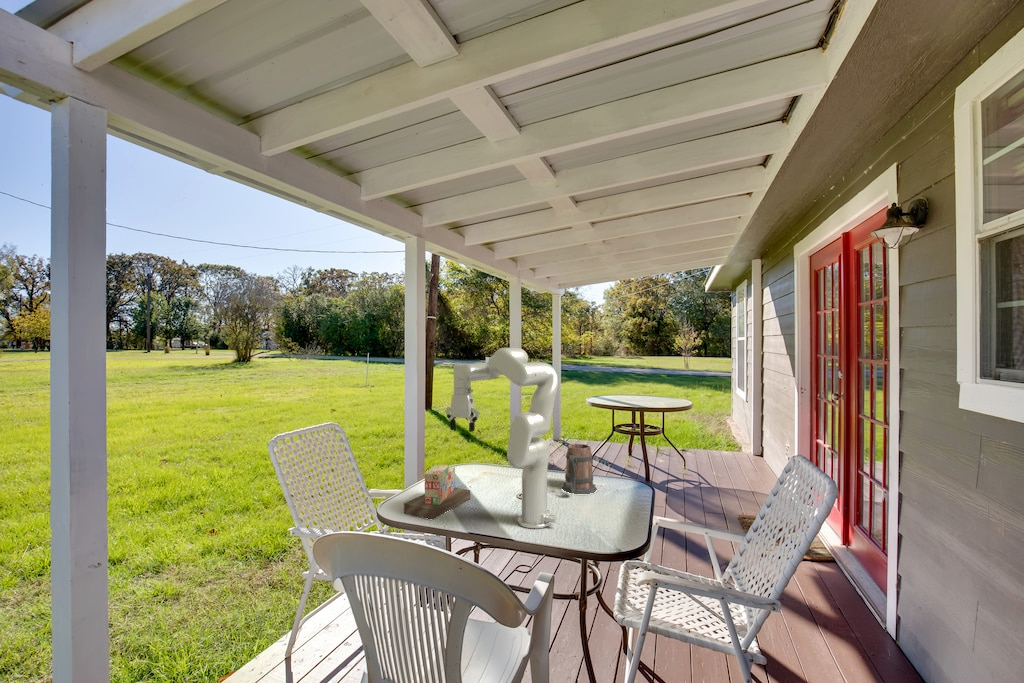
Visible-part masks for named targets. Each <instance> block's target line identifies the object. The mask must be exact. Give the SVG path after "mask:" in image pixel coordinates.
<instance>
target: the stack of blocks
mask: <svg viewBox="0 0 1024 683" xmlns="http://www.w3.org/2000/svg"><path fill="white" fill-rule="evenodd" d="M455 488H456V467H455V466H449V465H446V464H445V465H441V464H435V465H433V466H432V467H431V468H430V469H429V470H427V471H426V472H425V473H424V494H425V504H430V505H440V504H441V503H442V502H443V501H444V500H445V499H446V498H447V496H448V495H449V494H450V493H451V492H452V491H453V490H454V489H455Z"/></svg>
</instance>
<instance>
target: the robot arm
mask: <svg viewBox="0 0 1024 683" xmlns="http://www.w3.org/2000/svg"><path fill="white" fill-rule="evenodd" d="M501 375H503V376H504V377H506V378H507V379H508V380H509V381H511V382H512V383H513V384H515V385H516V386H519V387H532V386H537V388H536V389H535V391H534V393H533V394H532V397H531V400H530V406H529V409H528V411H525V412H521V413H518V414H517V415H515V417H514V418H513V419H512V420H511V423H510V429H509V436H508V440H507V441H508V442H507V449H506V453H507V454H506V457H507V460H508V463H509V464H510V465H511V467H513V468H515V469H522V472H521V473H522V474H521V515H519V516H518V517H517V523H518V524H519V526H521V527H524V528H527V529H534V528H535V529H543V528H547V527H548V526H550V525H551V524H552V523H553V524H557V520H558V519H557V515H554V514H551V512H550V509H548V467H549V461H550V456H551V450H550V444H549V443H548V442H547V440H546V439H544V438H542V436H545V435H546V434H548V433H549V432H550V430H551V424H552V418H553V412H554V405H555V401H556V396H557V392H558V388H559V377H558V373H557V372H556V370H555V369H554V367H553V366H552V365H551V364H549V363H546V362H541V361H538V362H535V361H534V362H529V355H528V353H527V351H525V350H524V349H523V348H520V347H501V348H498V349H497V350H496V351H495V352H494V353H493V355H491V356H490V357H489V358H488V361H487V362H478V363H477V362H475V363H466V362H465V363H455V364H454V365H453V394H452V396H451V403H450V407H449V408H448V409H447V408H446V409H445V414H446V418H447V419H448V421H449V423H450V424H449V426H450V427H449V428H450V431H453V430H456V429H457V425H456V424H457V421H456V419H457V418H458V419H459V418H461V419H468V421H469V423H468V429H469V430H468V431H469V433H473V432H475V429H476V421H477V420H478V419H479V417H480V414H481V413H480V411H478V410H477V409H475V408H476V407H475V400H474V396H473V394H472V393H473V392H474V389H473V388H472V382H476V381H477V382H478V381H479V382H480V381H488V380H492V379H494V378H498V377H500V376H501Z"/></svg>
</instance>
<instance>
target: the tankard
mask: <svg viewBox="0 0 1024 683" xmlns="http://www.w3.org/2000/svg"><path fill="white" fill-rule="evenodd" d="M565 458H566V466H565V467H566V468H565V476H564V479H565V482H564V483H563V485H562V486H561V487H562V489H563V490H564V491H566V492H569V493H574V494H590V493H594V492H595V491H596V490H597V489H598V488H597V487H596V485H595V484H594V474H593V454H592V449H591V446H590V445H588V444H584V443H575V444H574V443H573V444H571V443H570V444H568V447H567V451H566V454H565ZM594 494H595V493H594Z"/></svg>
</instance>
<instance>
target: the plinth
mask: <svg viewBox="0 0 1024 683" xmlns="http://www.w3.org/2000/svg"><path fill="white" fill-rule="evenodd" d="M468 500H469V501H470V500H471V490H470V489H464V488H459V487H455V489H454V490H453V491H452V492H451V493H450V494H449V495H448V496H447V498H446V499H445V500H444V501H443V502H442V503H441V504H440V505H430V504H425V493H424V494H421V495H419V496H417V497H415V498H413V499H411V500H408V501H406V502H404V503H403V514H405V515H408V516H409V515H410V516H413V517H417V516H418V518H421V517H423V518H422V519H425V518H428V519H427V520H429V519H433V520H435V519H437V518H438V516H439V517H440V516H442V515H444V514H446V513H448V512H450V511H452V510H453V508H454V509H455V508H457V507H459V506H461V505H463V504H465V503H467V502H468ZM466 501H467V502H466ZM451 509H452V510H451ZM449 510H450V511H449ZM447 511H448V512H447ZM445 512H446V513H445ZM436 517H437V518H436ZM434 518H435V519H434Z"/></svg>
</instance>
